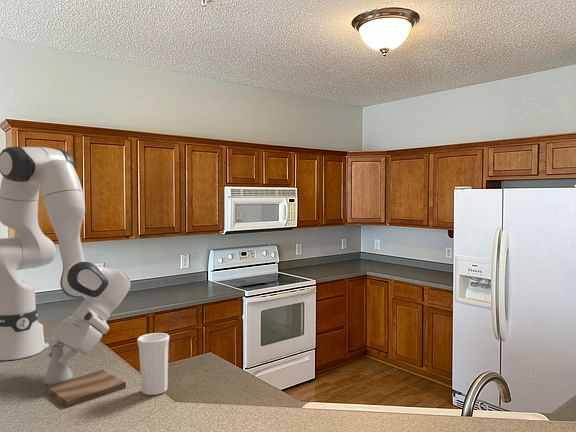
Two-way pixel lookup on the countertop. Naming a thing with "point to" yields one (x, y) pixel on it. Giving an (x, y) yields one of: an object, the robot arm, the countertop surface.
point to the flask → (57, 367)
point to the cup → (154, 362)
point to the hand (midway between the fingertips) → (54, 360)
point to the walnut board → (85, 388)
